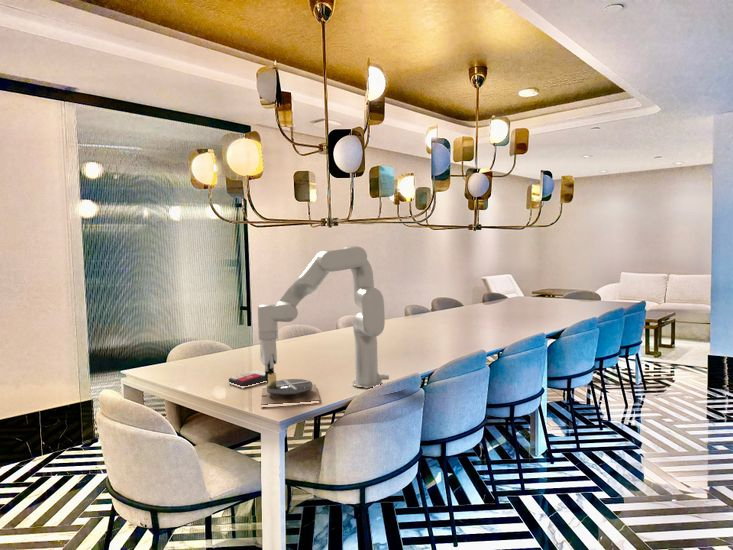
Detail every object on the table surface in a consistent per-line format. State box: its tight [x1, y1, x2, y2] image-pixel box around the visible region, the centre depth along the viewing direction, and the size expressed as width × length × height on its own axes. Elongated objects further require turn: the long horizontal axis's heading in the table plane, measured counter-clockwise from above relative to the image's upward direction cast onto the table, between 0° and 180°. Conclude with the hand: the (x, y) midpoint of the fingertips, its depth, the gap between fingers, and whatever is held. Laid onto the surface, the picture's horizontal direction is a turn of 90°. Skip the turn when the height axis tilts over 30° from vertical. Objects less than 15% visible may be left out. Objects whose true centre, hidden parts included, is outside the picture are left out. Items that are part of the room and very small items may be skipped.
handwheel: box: [266, 372, 313, 396], centre depth 202 cm, size 18×18×9 cm
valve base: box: [260, 383, 321, 406], centre depth 202 cm, size 22×22×2 cm
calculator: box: [228, 369, 266, 386], centre depth 226 cm, size 11×4×15 cm
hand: (269, 380), depth 203 cm, fingers closed
